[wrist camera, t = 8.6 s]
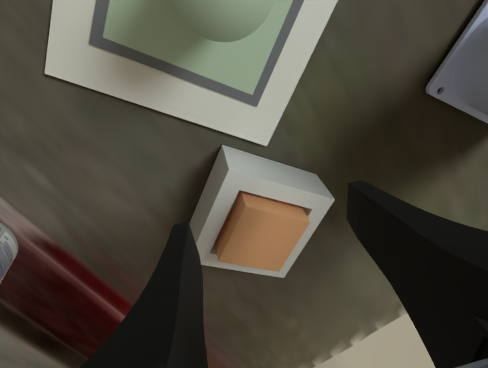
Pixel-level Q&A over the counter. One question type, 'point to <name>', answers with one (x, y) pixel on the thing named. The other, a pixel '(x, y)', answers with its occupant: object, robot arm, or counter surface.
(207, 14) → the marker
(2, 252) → the energy drink
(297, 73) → the picture board
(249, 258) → the button
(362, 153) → the counter surface
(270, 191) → the button housing
